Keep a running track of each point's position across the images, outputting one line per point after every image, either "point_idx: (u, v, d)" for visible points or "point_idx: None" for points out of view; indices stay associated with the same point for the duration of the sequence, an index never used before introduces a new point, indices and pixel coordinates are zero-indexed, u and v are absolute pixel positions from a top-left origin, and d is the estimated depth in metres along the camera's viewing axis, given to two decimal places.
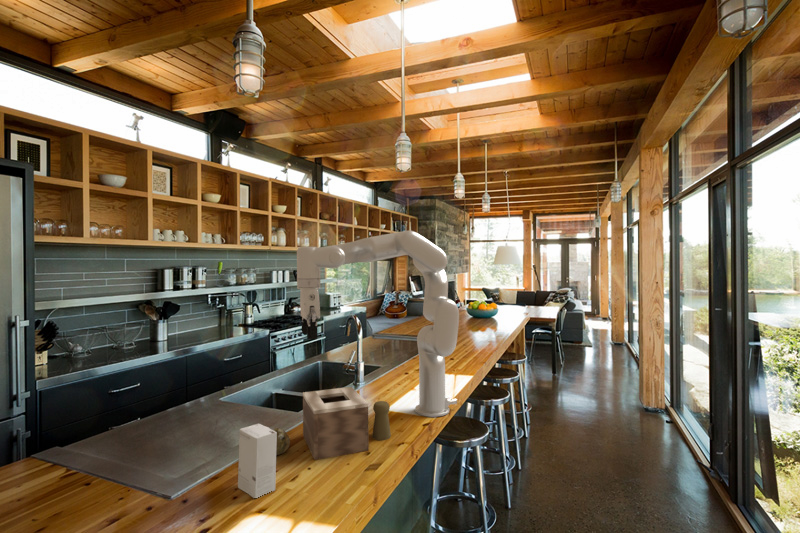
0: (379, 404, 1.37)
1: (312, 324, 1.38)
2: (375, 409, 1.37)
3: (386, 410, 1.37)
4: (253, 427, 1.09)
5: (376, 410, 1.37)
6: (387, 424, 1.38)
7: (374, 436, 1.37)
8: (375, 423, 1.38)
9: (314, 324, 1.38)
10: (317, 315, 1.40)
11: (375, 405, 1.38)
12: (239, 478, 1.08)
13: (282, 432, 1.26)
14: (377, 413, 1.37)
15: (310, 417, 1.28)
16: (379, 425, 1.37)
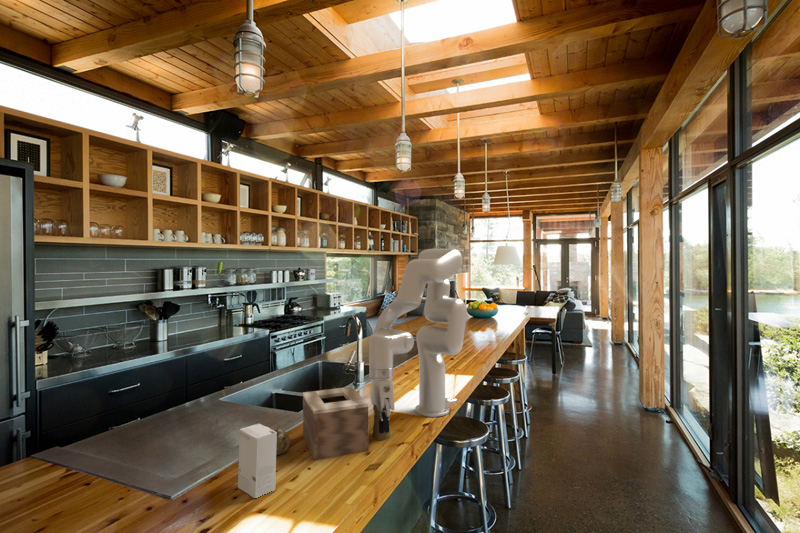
0: None
1: (385, 419, 1.35)
2: (375, 409, 1.37)
3: None
4: (253, 427, 1.09)
5: (376, 410, 1.37)
6: None
7: (374, 436, 1.37)
8: (375, 423, 1.38)
9: (387, 419, 1.36)
10: (392, 407, 1.35)
11: (375, 405, 1.38)
12: (239, 478, 1.08)
13: (282, 432, 1.26)
14: (377, 413, 1.37)
15: (310, 417, 1.28)
16: None
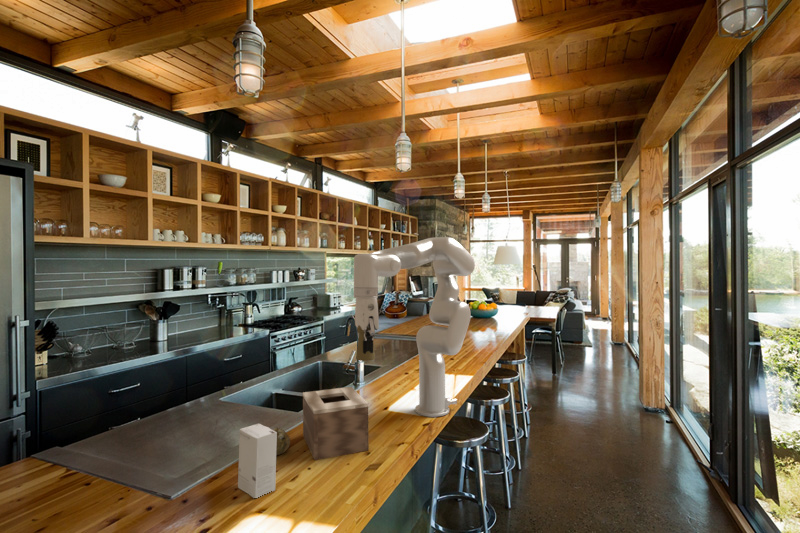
0: None
1: (369, 338, 1.33)
2: (359, 329, 1.35)
3: None
4: (254, 427, 1.09)
5: (360, 330, 1.35)
6: None
7: (358, 357, 1.35)
8: (359, 344, 1.35)
9: (371, 338, 1.33)
10: (376, 326, 1.33)
11: (359, 326, 1.35)
12: (239, 478, 1.08)
13: (282, 432, 1.26)
14: (361, 333, 1.35)
15: (310, 417, 1.28)
16: None
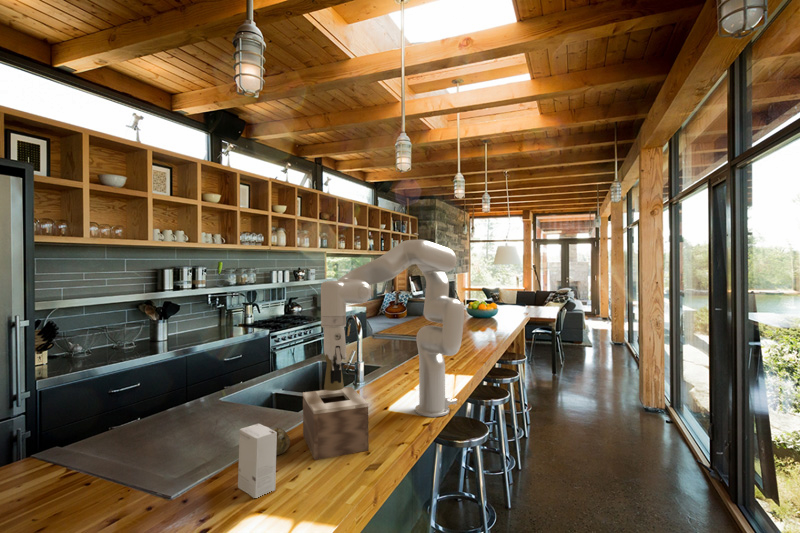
0: None
1: (336, 368, 1.30)
2: (326, 359, 1.32)
3: None
4: (253, 427, 1.09)
5: (327, 359, 1.32)
6: None
7: (325, 387, 1.32)
8: (327, 373, 1.32)
9: (338, 368, 1.30)
10: (343, 356, 1.30)
11: (327, 355, 1.33)
12: (239, 478, 1.08)
13: (282, 432, 1.26)
14: (329, 363, 1.32)
15: (310, 417, 1.28)
16: None
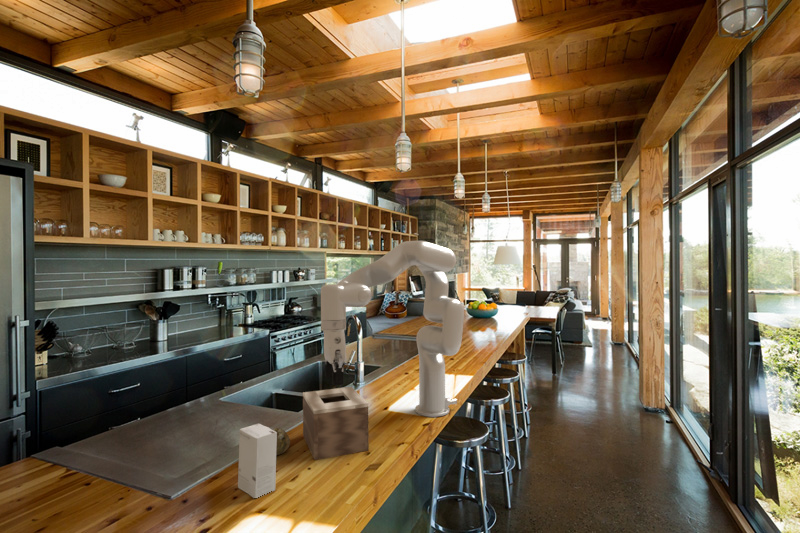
0: None
1: (338, 370, 1.28)
2: None
3: None
4: (254, 427, 1.09)
5: None
6: None
7: None
8: None
9: (340, 370, 1.28)
10: (343, 359, 1.30)
11: None
12: (239, 478, 1.08)
13: (282, 432, 1.26)
14: None
15: (310, 417, 1.28)
16: None
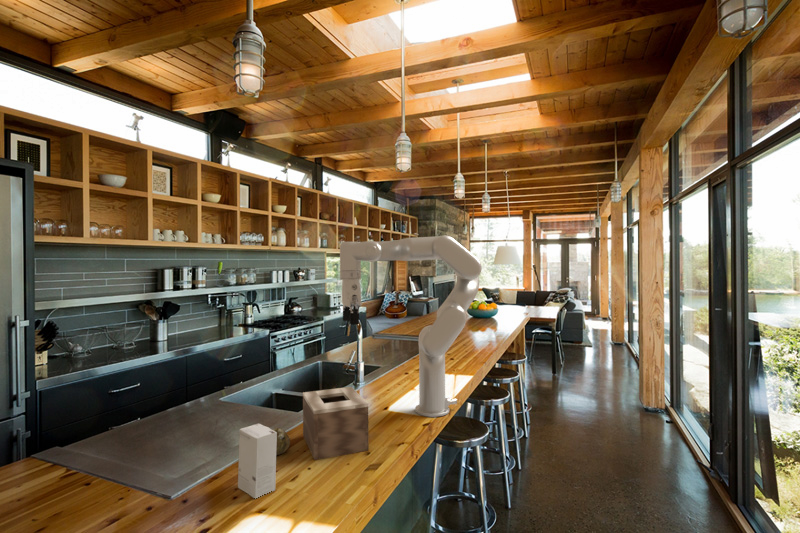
0: None
1: (355, 311, 1.53)
2: None
3: None
4: (254, 427, 1.09)
5: None
6: None
7: None
8: None
9: (357, 311, 1.54)
10: (359, 303, 1.55)
11: None
12: (239, 478, 1.08)
13: (282, 432, 1.26)
14: None
15: (310, 417, 1.28)
16: None
